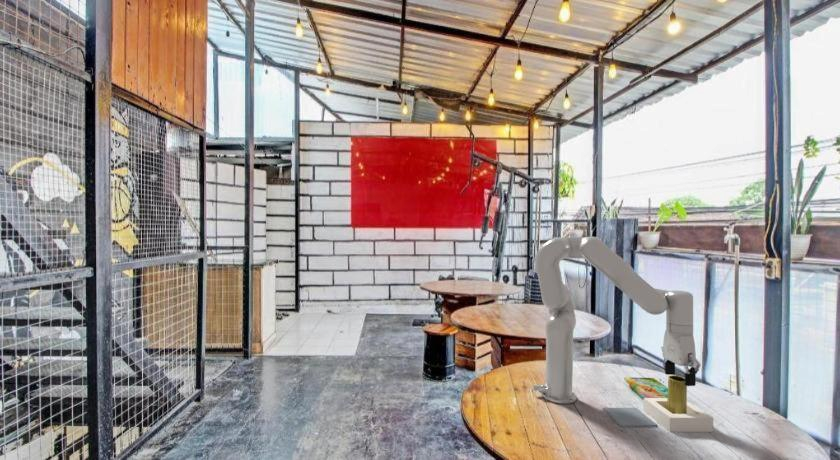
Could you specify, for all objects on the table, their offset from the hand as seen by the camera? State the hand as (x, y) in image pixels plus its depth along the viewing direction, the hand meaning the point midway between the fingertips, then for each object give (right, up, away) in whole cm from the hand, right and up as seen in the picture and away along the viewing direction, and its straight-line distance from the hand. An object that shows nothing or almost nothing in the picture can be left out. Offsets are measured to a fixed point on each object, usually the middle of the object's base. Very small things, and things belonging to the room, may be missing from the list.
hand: (679, 379), depth 132 cm
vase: (-1, -14, +1) cm, 14 cm away
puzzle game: (+2, -14, +19) cm, 23 cm away
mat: (-16, -14, +2) cm, 21 cm away
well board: (-1, -14, +1) cm, 14 cm away
